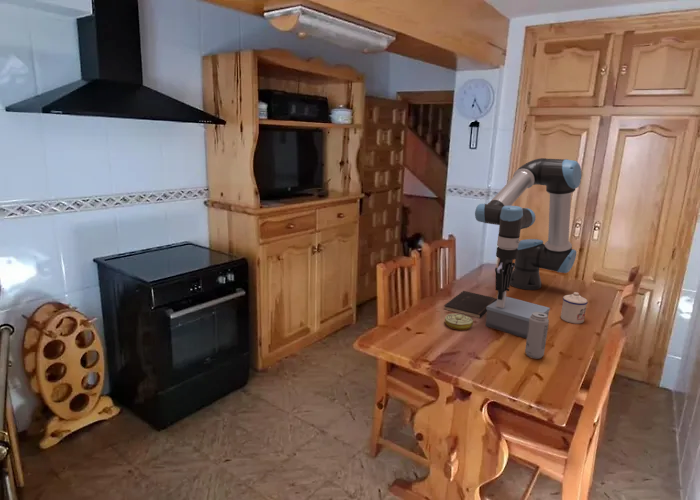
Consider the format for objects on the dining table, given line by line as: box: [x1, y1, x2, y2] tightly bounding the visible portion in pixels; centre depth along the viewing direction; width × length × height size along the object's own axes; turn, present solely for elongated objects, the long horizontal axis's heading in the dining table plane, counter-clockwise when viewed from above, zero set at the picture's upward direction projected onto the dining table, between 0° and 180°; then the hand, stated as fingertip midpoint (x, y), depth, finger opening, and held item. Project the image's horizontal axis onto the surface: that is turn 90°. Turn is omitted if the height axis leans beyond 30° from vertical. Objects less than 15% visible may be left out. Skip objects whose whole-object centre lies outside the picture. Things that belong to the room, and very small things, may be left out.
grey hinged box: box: [485, 310, 550, 340], centre depth 177 cm, size 16×18×7 cm
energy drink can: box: [524, 312, 550, 360], centre depth 153 cm, size 6×6×15 cm
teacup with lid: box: [560, 291, 588, 324], centre depth 186 cm, size 12×9×12 cm
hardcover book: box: [443, 290, 497, 319], centre depth 198 cm, size 16×23×2 cm
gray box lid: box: [486, 295, 551, 322], centre depth 176 cm, size 16×18×1 cm
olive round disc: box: [444, 313, 474, 331], centre depth 177 cm, size 10×11×4 cm
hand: (500, 306), depth 175 cm, fingers closed
